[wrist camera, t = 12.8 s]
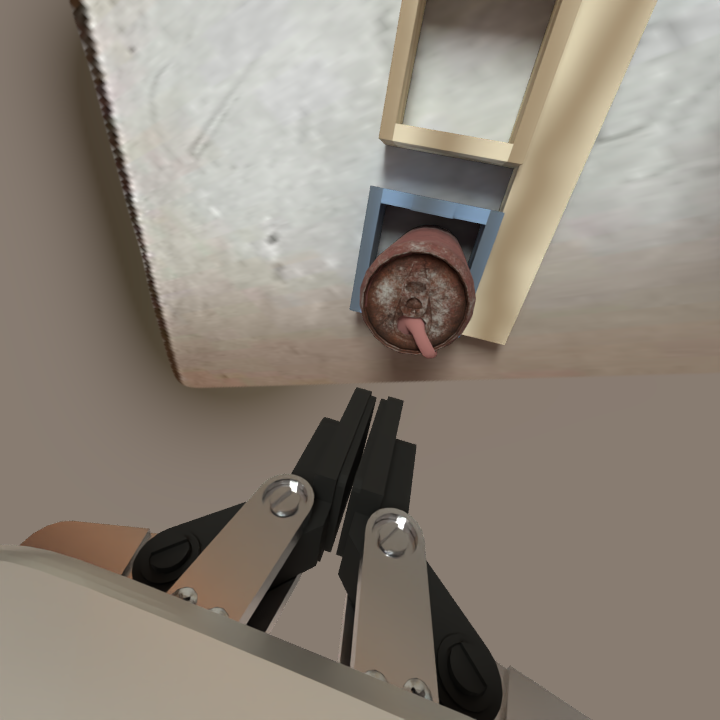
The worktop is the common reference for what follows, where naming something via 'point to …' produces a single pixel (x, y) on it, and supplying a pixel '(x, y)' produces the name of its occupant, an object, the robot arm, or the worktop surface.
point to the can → (419, 292)
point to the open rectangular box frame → (515, 149)
